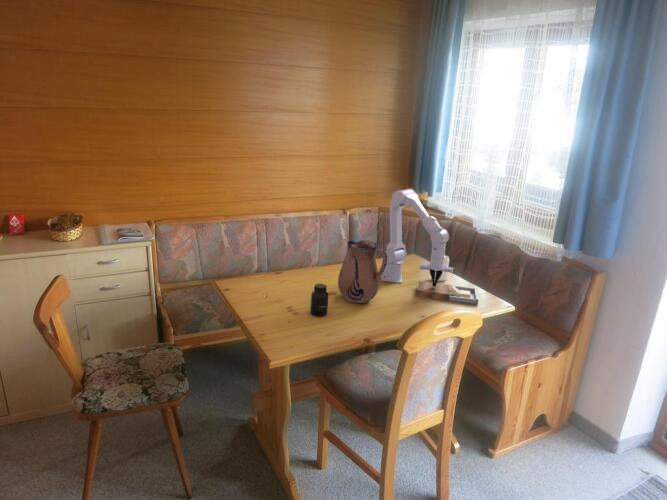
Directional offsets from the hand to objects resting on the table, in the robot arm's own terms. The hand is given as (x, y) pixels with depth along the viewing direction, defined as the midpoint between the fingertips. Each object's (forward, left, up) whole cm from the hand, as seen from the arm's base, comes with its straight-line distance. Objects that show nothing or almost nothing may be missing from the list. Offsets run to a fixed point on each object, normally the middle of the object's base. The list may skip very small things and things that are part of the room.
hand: (434, 285), depth 218 cm
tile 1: (+8, 0, -2) cm, 9 cm away
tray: (+13, 0, -4) cm, 13 cm away
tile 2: (+14, 0, -1) cm, 14 cm away
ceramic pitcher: (-30, -18, -4) cm, 35 cm away
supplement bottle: (-44, -37, -4) cm, 58 cm away
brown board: (0, 0, -4) cm, 4 cm away
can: (+3, +21, -4) cm, 22 cm away
